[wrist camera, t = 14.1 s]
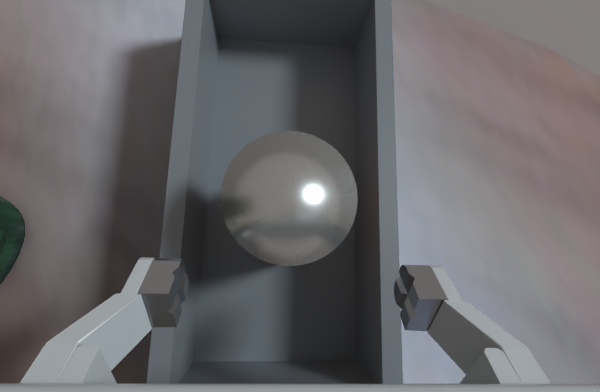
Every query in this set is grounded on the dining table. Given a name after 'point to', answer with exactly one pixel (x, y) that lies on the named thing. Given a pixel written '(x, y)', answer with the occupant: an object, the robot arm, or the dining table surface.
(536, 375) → the robot arm
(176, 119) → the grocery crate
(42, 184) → the dining table surface
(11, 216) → the coffee jar
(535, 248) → the dining table surface
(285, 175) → the grey-lidded copper canister
